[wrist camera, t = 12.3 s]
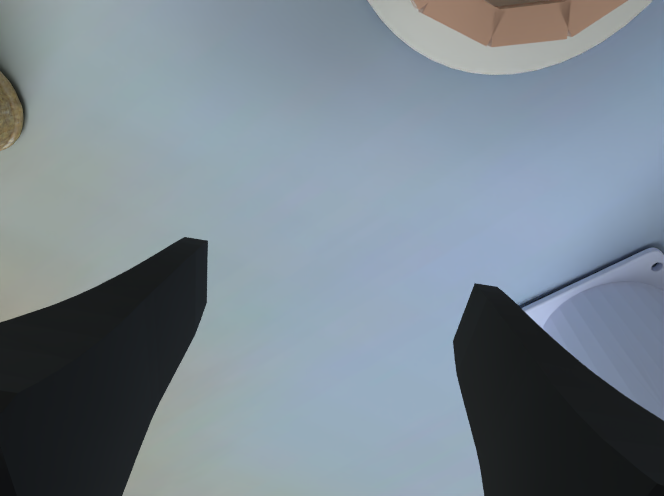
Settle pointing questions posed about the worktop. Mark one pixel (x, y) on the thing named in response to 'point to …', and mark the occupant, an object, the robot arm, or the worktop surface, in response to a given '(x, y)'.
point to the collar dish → (499, 54)
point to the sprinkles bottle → (9, 114)
